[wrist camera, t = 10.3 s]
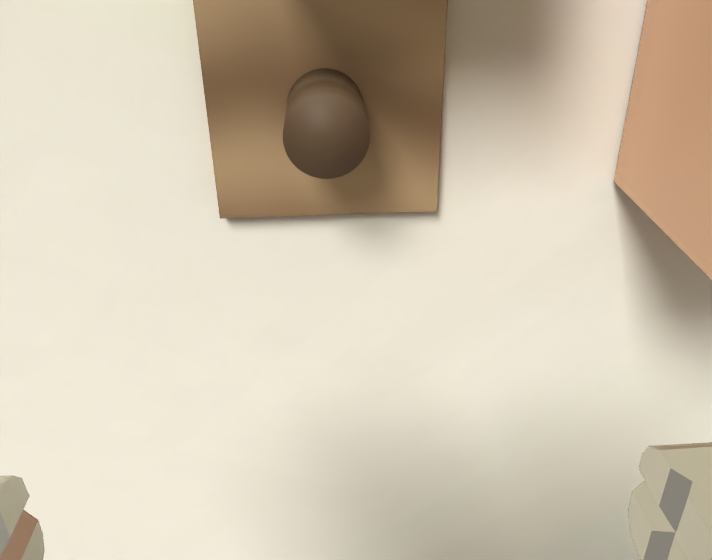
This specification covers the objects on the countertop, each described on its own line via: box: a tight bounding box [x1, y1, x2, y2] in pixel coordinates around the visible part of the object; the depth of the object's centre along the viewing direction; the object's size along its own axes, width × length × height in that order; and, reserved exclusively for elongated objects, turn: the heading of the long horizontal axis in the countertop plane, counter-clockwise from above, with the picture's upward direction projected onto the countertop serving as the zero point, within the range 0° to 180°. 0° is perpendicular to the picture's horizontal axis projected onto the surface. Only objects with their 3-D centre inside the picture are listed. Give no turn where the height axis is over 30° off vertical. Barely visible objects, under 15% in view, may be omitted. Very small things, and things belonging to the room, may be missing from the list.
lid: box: [193, 0, 447, 218], centre depth 24 cm, size 9×9×4 cm
